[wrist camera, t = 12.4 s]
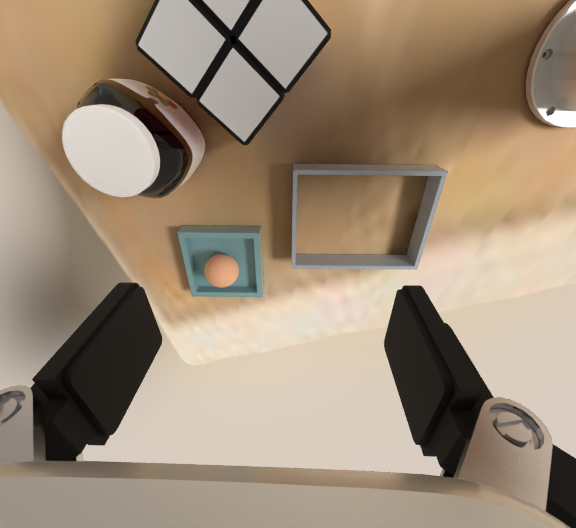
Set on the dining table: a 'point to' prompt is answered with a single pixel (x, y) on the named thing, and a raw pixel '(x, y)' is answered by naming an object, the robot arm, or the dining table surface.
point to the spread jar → (132, 140)
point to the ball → (221, 270)
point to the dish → (230, 241)
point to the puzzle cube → (234, 54)
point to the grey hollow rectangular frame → (362, 260)
